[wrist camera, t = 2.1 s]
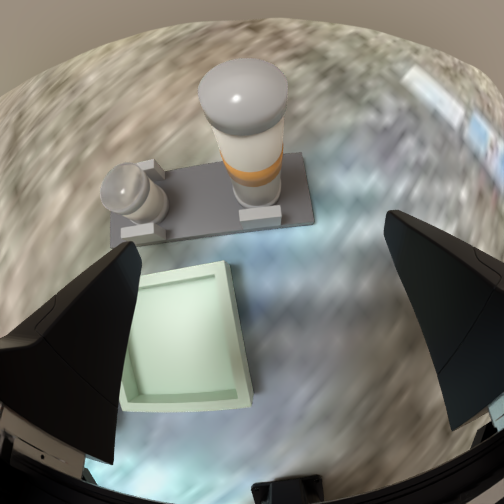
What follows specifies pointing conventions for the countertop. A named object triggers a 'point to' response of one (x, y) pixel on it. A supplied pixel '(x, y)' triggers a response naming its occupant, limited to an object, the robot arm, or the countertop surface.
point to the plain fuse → (134, 195)
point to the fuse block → (215, 205)
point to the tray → (186, 344)
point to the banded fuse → (248, 125)
